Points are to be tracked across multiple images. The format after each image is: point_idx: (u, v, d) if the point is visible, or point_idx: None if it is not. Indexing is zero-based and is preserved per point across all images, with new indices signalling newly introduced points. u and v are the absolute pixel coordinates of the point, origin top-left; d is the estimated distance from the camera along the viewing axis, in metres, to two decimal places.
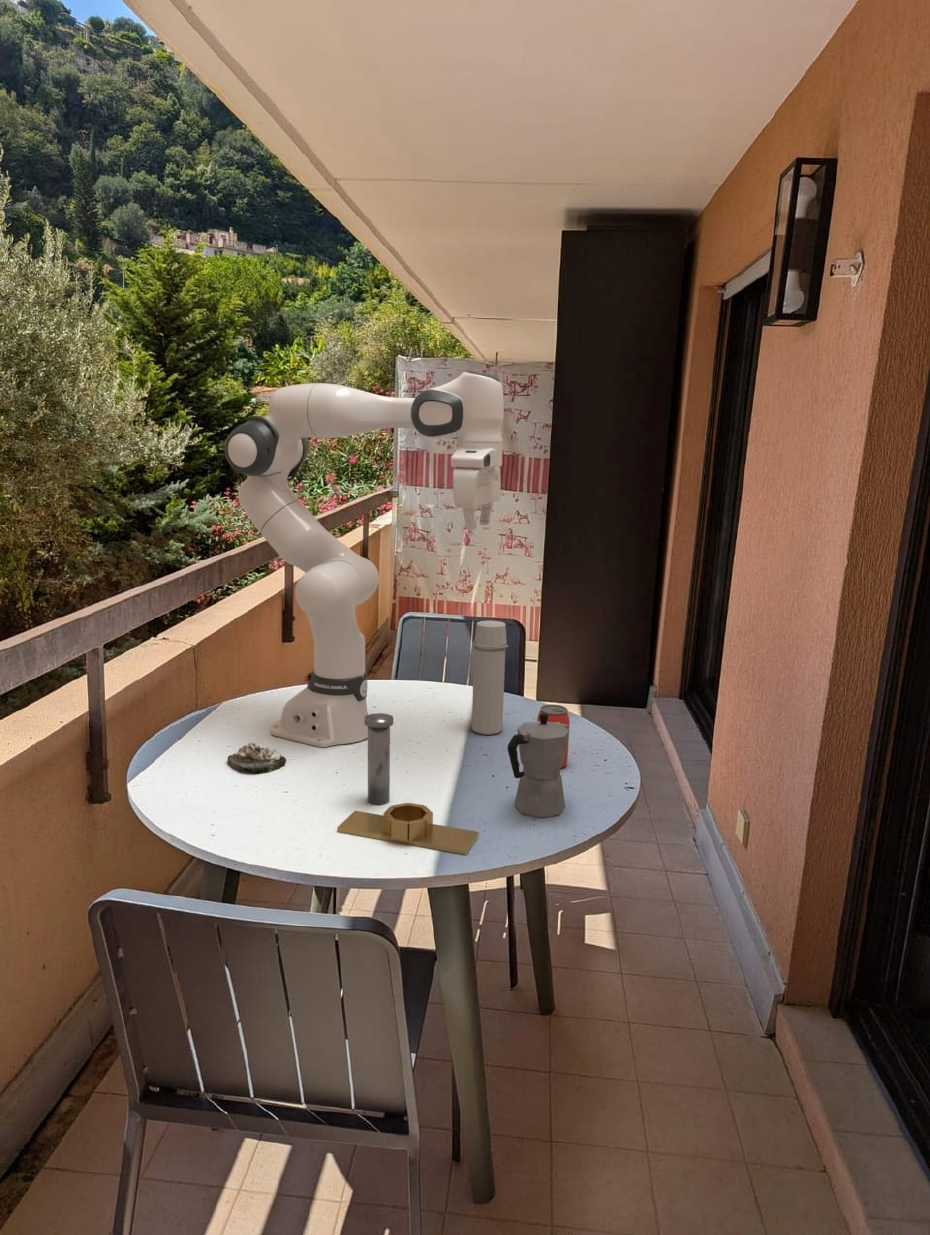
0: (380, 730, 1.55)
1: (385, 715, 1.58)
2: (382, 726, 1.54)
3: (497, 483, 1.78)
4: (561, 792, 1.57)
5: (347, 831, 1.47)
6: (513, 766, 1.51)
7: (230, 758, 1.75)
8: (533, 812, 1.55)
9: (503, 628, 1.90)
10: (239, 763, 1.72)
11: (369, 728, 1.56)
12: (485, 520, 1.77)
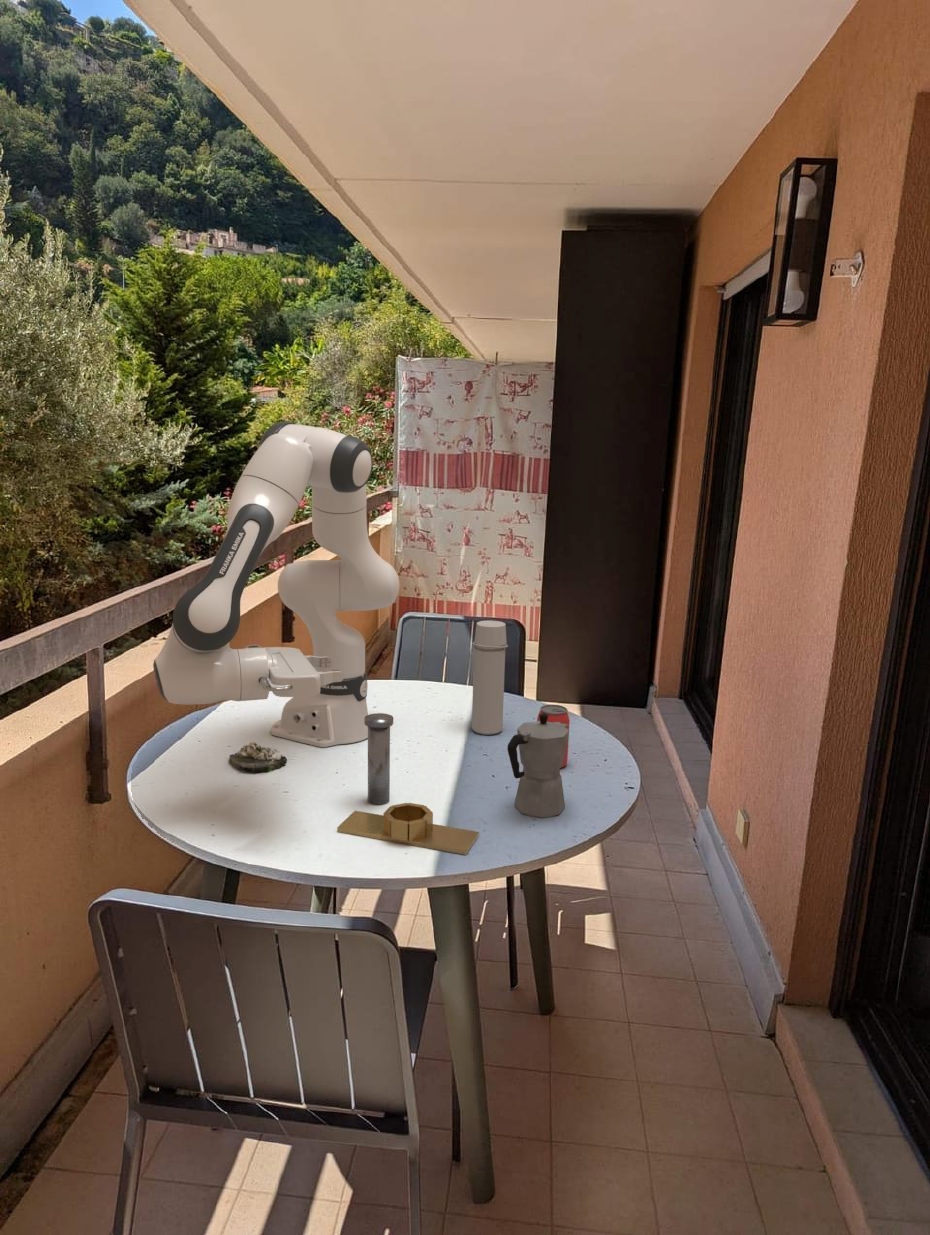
0: (380, 730, 1.55)
1: (385, 715, 1.58)
2: (382, 726, 1.54)
3: None
4: (561, 792, 1.57)
5: (347, 831, 1.47)
6: (513, 766, 1.51)
7: (231, 757, 1.75)
8: (533, 812, 1.55)
9: (503, 628, 1.90)
10: (240, 762, 1.72)
11: (369, 728, 1.56)
12: None
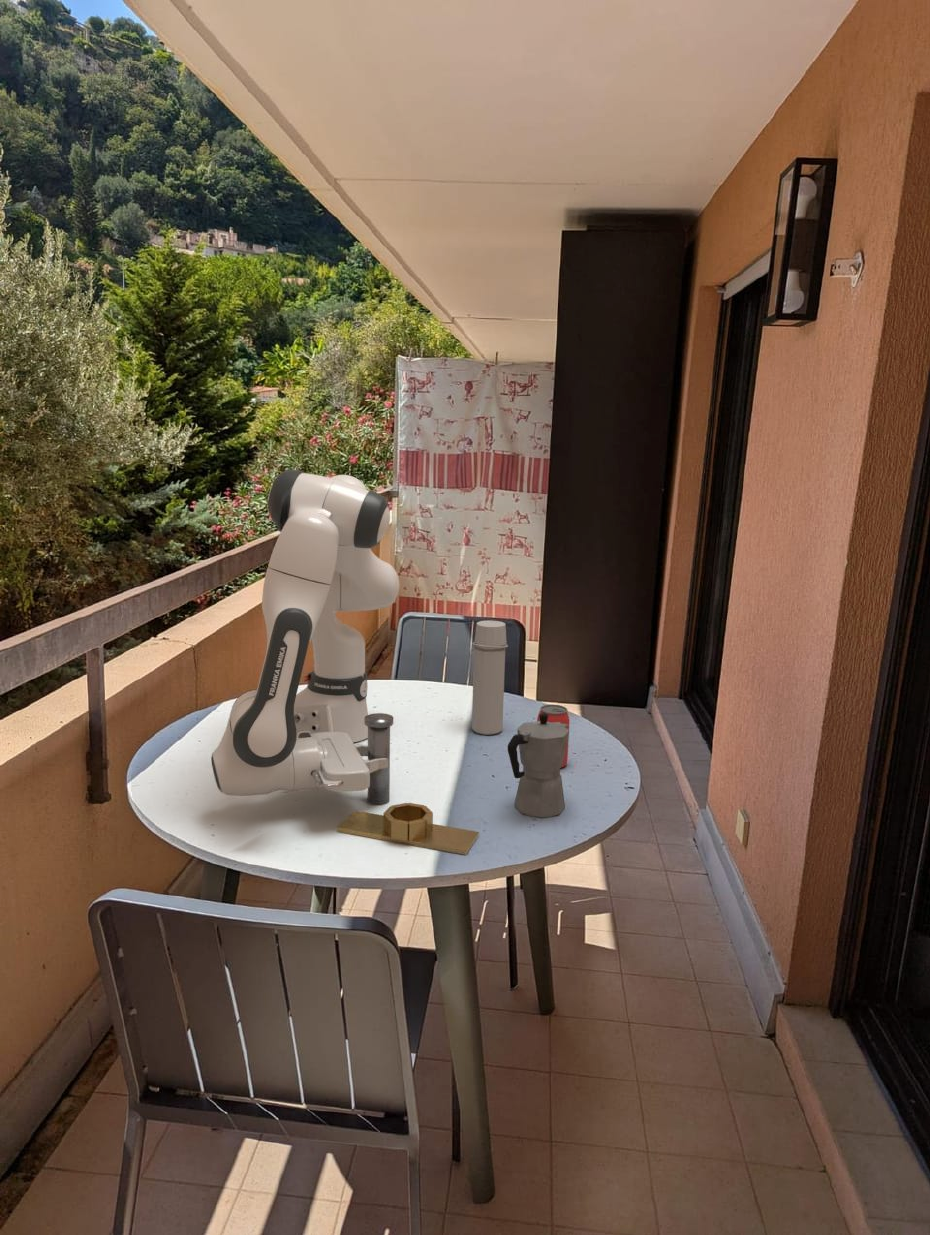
0: (380, 730, 1.55)
1: (385, 715, 1.58)
2: (382, 726, 1.54)
3: None
4: (561, 792, 1.57)
5: (347, 831, 1.47)
6: (513, 766, 1.51)
7: None
8: (533, 812, 1.55)
9: (503, 628, 1.90)
10: None
11: (369, 728, 1.56)
12: None
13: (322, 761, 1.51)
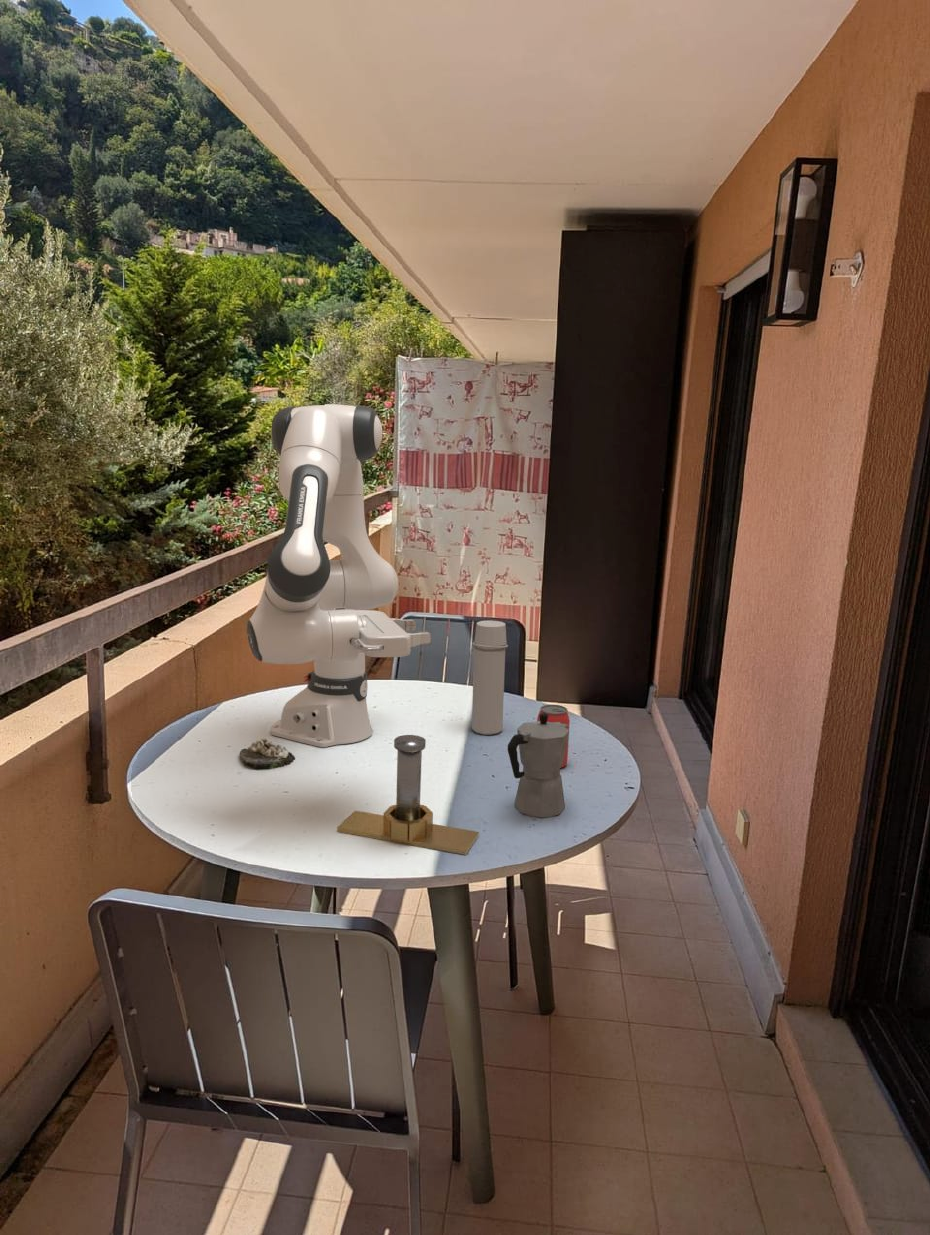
0: (412, 754, 1.42)
1: (416, 737, 1.45)
2: (414, 750, 1.41)
3: None
4: (561, 792, 1.57)
5: (347, 831, 1.47)
6: (513, 766, 1.51)
7: (241, 751, 1.78)
8: (533, 812, 1.55)
9: (503, 628, 1.90)
10: (245, 757, 1.75)
11: (399, 751, 1.42)
12: None
13: (361, 629, 1.47)
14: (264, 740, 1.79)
